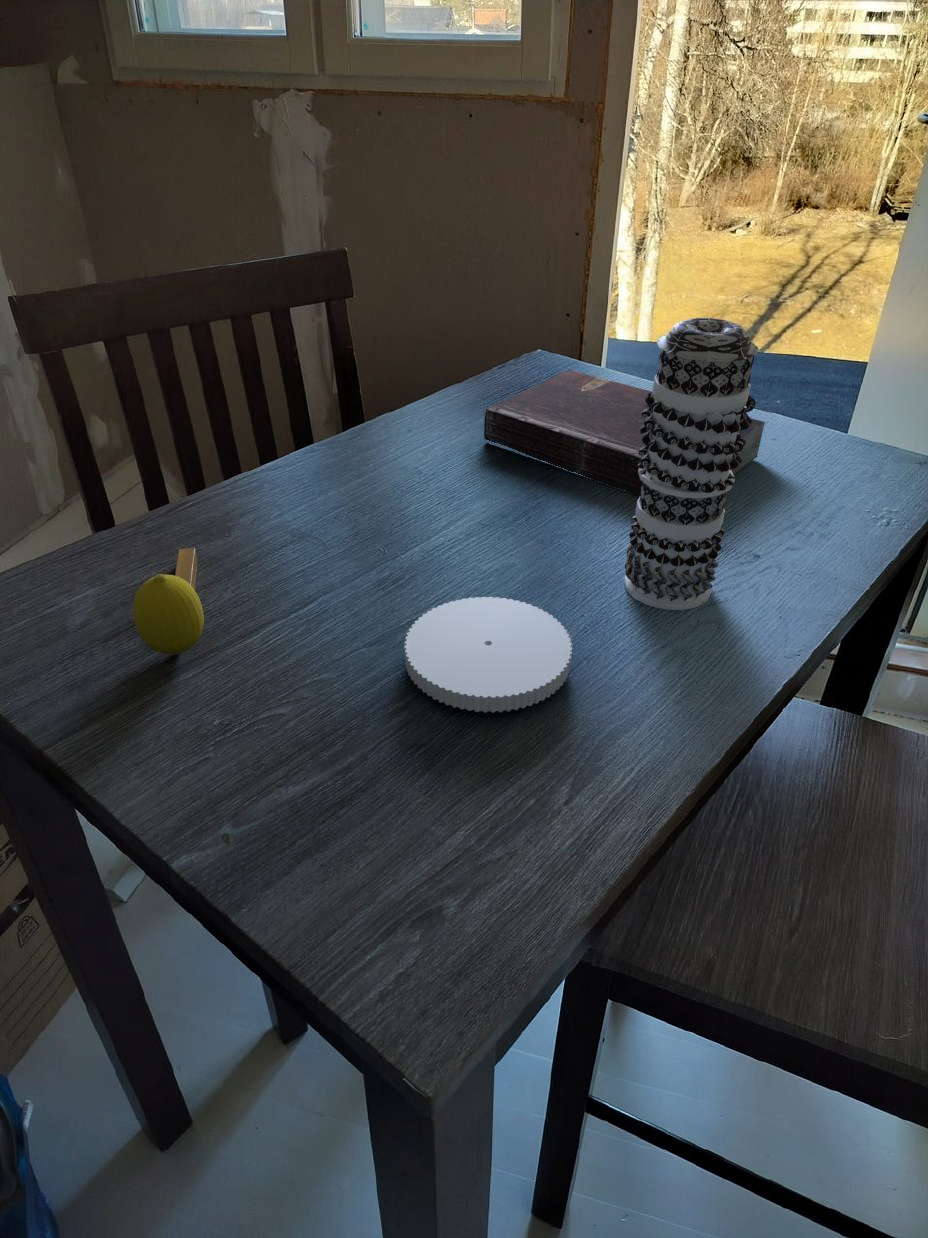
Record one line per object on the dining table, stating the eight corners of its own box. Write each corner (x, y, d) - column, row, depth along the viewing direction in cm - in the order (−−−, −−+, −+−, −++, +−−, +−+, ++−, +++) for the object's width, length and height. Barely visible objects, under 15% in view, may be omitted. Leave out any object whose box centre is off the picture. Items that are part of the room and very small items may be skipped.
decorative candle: (716, 618, 78) (774, 348, 64) (615, 605, 80) (650, 338, 66) (716, 568, 86) (768, 314, 71) (623, 556, 87) (656, 307, 73)
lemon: (132, 667, 72) (110, 588, 68) (165, 630, 77) (147, 554, 72) (191, 677, 71) (172, 598, 67) (222, 639, 76) (206, 562, 71)
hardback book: (483, 443, 111) (484, 406, 108) (566, 403, 122) (569, 369, 119) (684, 512, 95) (691, 472, 92) (756, 459, 107) (764, 421, 104)
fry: (174, 612, 79) (171, 597, 78) (181, 562, 86) (178, 548, 85) (192, 610, 79) (189, 596, 78) (198, 560, 86) (195, 547, 86)
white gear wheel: (493, 602, 81) (494, 579, 79) (604, 672, 72) (607, 649, 70) (372, 660, 73) (371, 637, 72) (480, 747, 64) (480, 722, 63)
